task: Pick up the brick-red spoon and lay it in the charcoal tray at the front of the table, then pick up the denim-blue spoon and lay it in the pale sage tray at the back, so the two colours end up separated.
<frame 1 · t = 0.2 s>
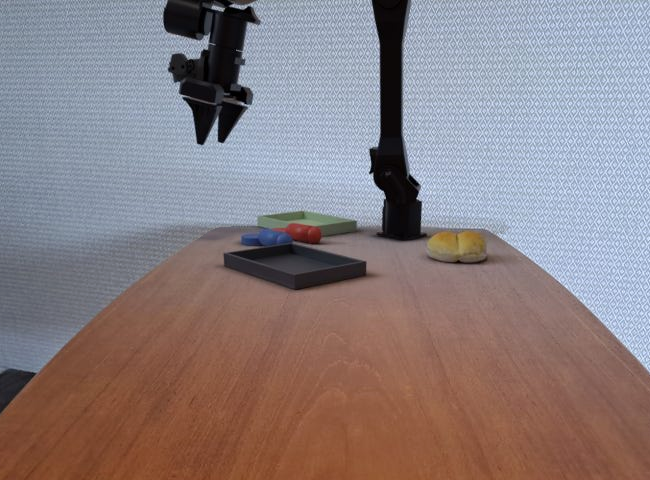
hand: (210, 143, 118), 15 cm above the table, tool pointing down, fingers open, 9 cm apart
bread roll: (457, 259, 102), on the table
red spoon: (292, 239, 116), on the table
front tray: (293, 270, 94), on the table
blue spoon: (266, 245, 110), on the table
back tray: (306, 228, 126), on the table
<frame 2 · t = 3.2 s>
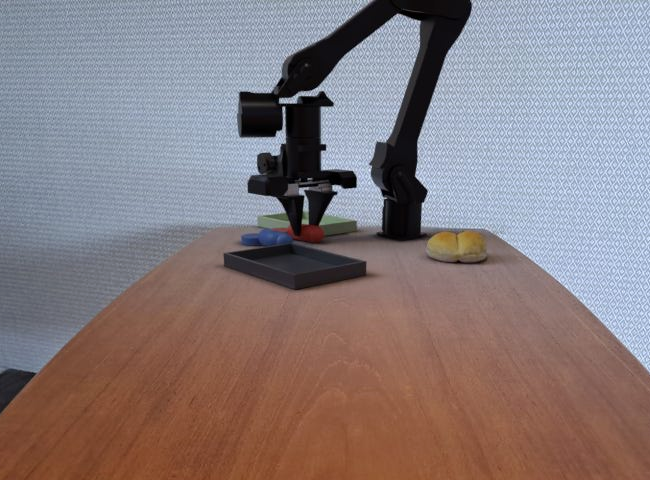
hand: (304, 234, 114), 1 cm above the table, tool pointing down, fingers closed on red spoon, 3 cm apart
red spoon: (294, 239, 116), on the table, touching gripper
everything else where it was.
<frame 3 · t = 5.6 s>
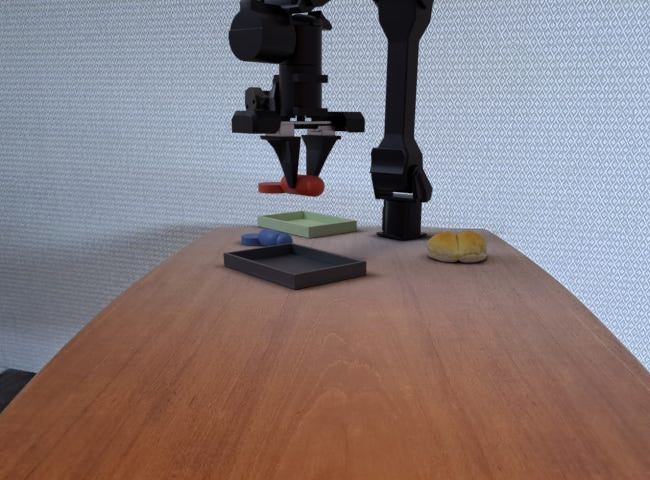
hand: (301, 187, 95), 11 cm above the table, tool pointing down, fingers closed on red spoon, 3 cm apart
red spoon: (289, 193, 97), point 10 cm above the table, touching gripper
everything else where it was.
when the fingers open (1 cm above the table, at t = 8.5 s): red spoon stays where it is, resting on front tray.
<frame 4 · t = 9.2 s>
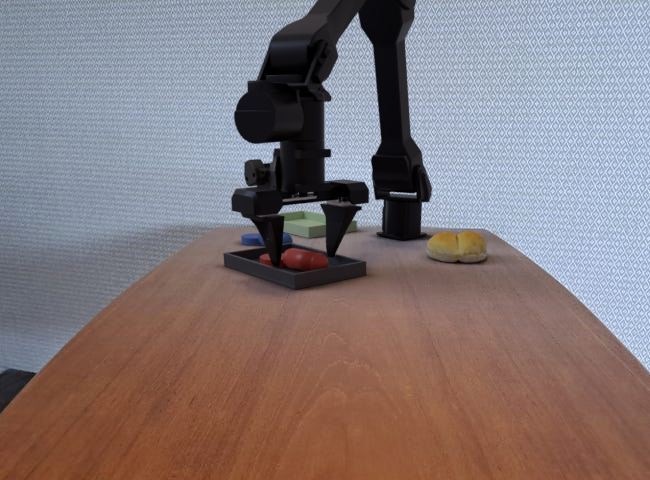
hand: (304, 261, 91), 2 cm above the table, tool pointing down, fingers open, 9 cm apart
red spoon: (292, 268, 93), resting on front tray
everything else where it was.
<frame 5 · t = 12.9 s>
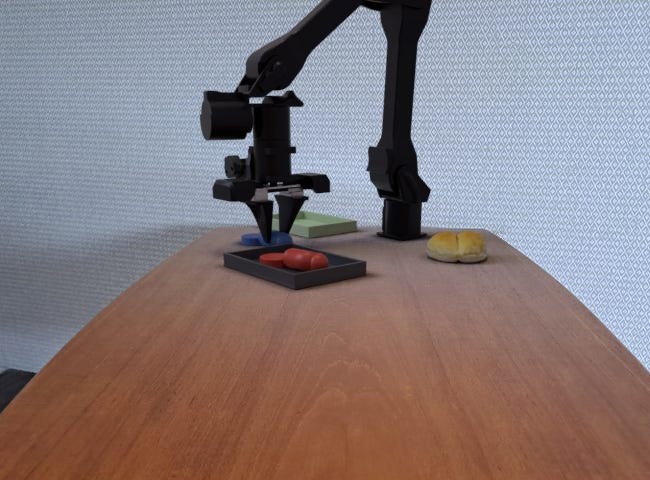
hand: (275, 241, 108), 1 cm above the table, tool pointing down, fingers closed on blue spoon, 3 cm apart
blue spoon: (266, 245, 110), on the table, touching gripper
everything else where it was.
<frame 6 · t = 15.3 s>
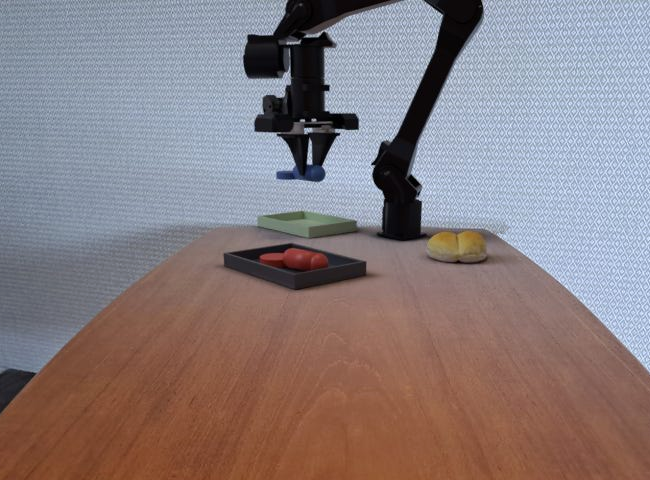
hand: (309, 175, 118), 10 cm above the table, tool pointing down, fingers closed on blue spoon, 3 cm apart
blue spoon: (299, 179, 120), point 9 cm above the table, touching gripper
everything else where it was.
when the fingers open (1 cm above the table, at t = 17.8 s): blue spoon stays where it is, resting on back tray.
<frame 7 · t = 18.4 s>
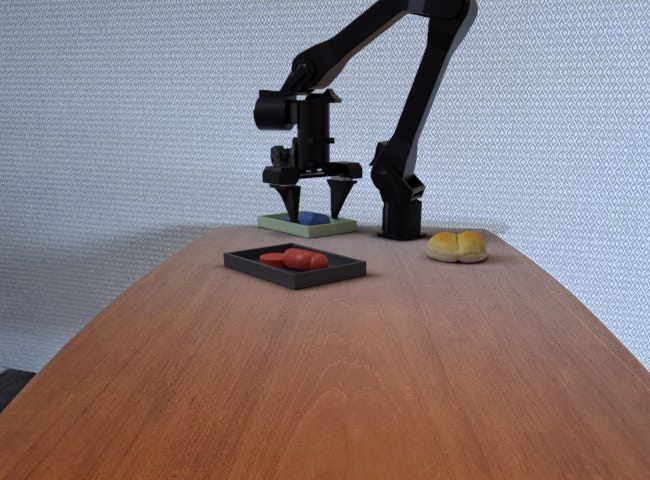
hand: (314, 221, 123), 2 cm above the table, tool pointing down, fingers open, 9 cm apart
blue spoon: (306, 226, 126), resting on back tray
everything else where it was.
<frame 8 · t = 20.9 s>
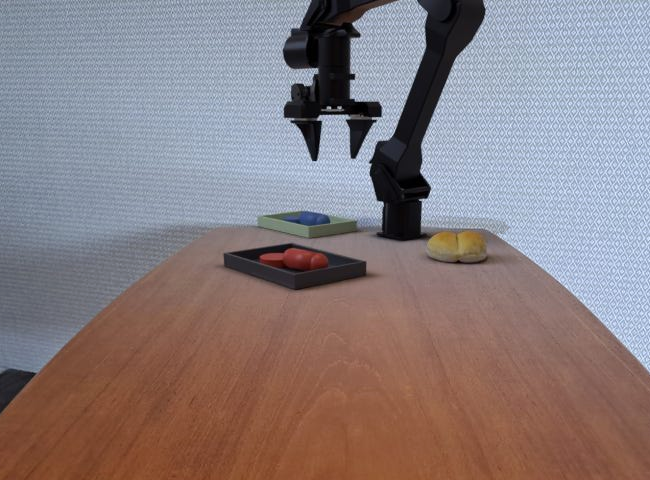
hand: (334, 160, 124), 12 cm above the table, tool pointing down, fingers open, 9 cm apart
nothing on the table moved.
at the end: red spoon inside the target area in the front tray (0.4 cm from its centre), point 0.4 cm above the front tray's base; blue spoon inside the target area in the back tray (0.0 cm from its centre), point 0.4 cm above the back tray's base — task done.
